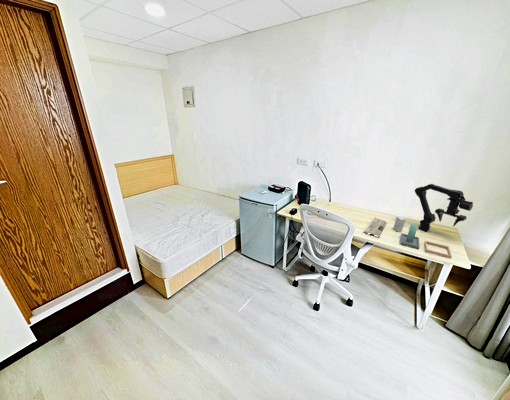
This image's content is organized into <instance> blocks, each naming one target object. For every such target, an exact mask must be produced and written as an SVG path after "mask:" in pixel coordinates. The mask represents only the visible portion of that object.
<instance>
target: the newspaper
mask: <svg viewBox="0 0 510 400" xmlns="http://www.w3.org/2000/svg"><path fill="white" fill-rule="evenodd" d="M387 224H388V222H387V221H386V220H384V219H380V218H378V217H376V216H375V217H374V218H373V219H372V221H371V222H370V224H369V225H368V226H367V227H366V228H365V229H364V230H363V232H364V233H365V235H367V234H368V233H371V234H372V235H377V236H378V237H377V239H379V238H380V237H381V235H382V234H383V231H384V229H385V228H386V226H387Z"/></svg>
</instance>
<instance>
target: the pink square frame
mask: <svg viewBox="0 0 510 400" xmlns="http://www.w3.org/2000/svg"><path fill="white" fill-rule="evenodd" d="M428 245H429V246H432V247H433V246H434V247H437V248H442V249H445V250H446V251H447V254H446V253H442V252H439V251H435V250H431V249H428ZM424 251H425V253H427V254H432V255H436V256H440V257H444V258H447V259H452V257H453V256H452V253H451V249H450V246H448V245H444V244H439V243H436V242H431V241H428V240H424Z"/></svg>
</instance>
